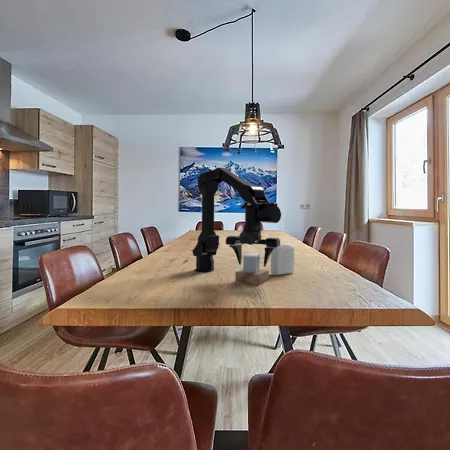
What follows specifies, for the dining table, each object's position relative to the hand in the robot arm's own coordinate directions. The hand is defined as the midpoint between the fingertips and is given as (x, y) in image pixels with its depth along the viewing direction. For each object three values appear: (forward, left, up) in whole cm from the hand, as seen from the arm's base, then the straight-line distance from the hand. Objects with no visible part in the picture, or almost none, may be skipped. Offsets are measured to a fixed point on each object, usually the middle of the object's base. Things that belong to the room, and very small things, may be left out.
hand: (252, 265), depth 121 cm
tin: (0, 0, -2) cm, 2 cm away
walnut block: (0, 0, -6) cm, 6 cm away
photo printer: (+7, +18, -6) cm, 20 cm away
